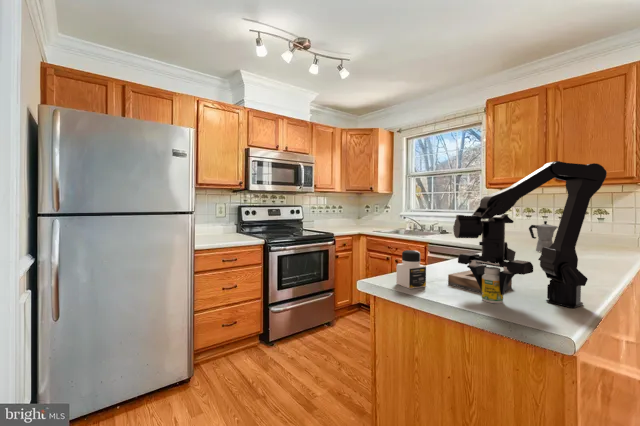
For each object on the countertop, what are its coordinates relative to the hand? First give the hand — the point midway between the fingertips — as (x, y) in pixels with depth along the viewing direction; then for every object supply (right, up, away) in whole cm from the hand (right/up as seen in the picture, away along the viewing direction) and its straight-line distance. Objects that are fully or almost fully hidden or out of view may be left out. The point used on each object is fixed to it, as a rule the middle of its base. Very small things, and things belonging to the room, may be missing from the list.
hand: (492, 292), depth 87 cm
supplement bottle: (0, -3, 0) cm, 3 cm away
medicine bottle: (-19, -2, +17) cm, 25 cm away
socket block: (+4, -2, +16) cm, 16 cm away
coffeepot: (+84, 0, +93) cm, 125 cm away
